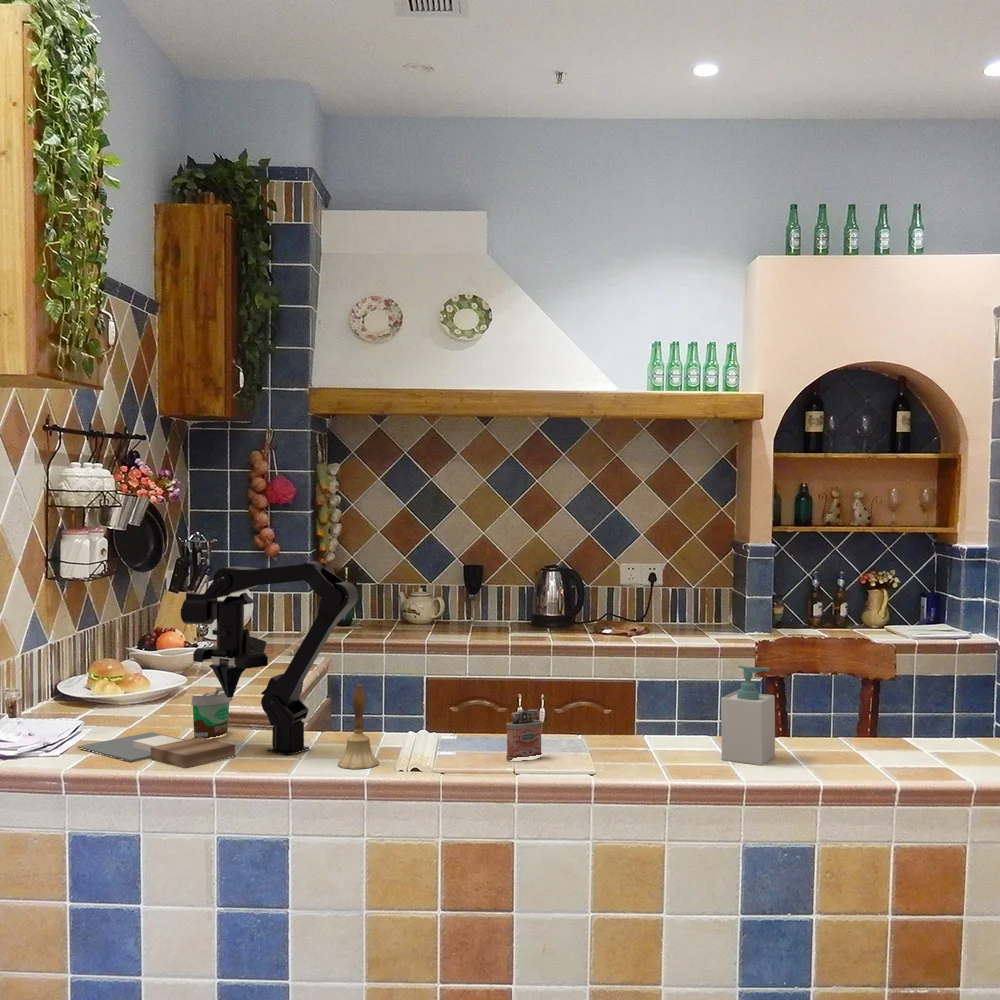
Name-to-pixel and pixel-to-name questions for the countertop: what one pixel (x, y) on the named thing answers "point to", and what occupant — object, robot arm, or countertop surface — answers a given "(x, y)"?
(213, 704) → the food container
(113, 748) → the mat
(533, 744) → the lighter
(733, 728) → the soap bottle
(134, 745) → the tile
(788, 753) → the countertop surface
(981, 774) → the countertop surface
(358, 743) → the hand bell
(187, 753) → the wooden block
